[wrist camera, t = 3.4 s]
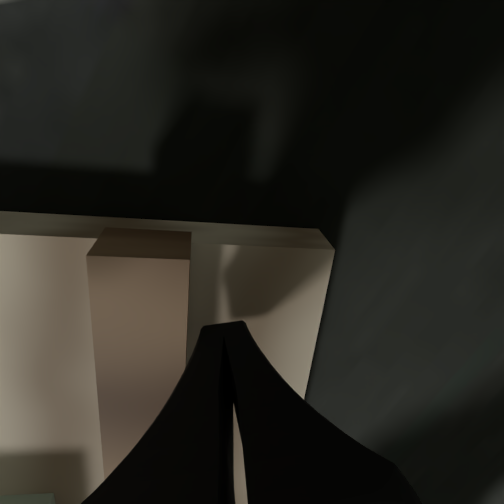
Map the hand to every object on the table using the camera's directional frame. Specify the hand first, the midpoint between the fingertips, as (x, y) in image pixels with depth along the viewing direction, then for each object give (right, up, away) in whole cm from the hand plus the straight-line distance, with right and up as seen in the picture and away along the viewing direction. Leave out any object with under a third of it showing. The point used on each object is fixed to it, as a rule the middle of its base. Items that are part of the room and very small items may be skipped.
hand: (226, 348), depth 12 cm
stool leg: (-3, -2, +2) cm, 4 cm away
